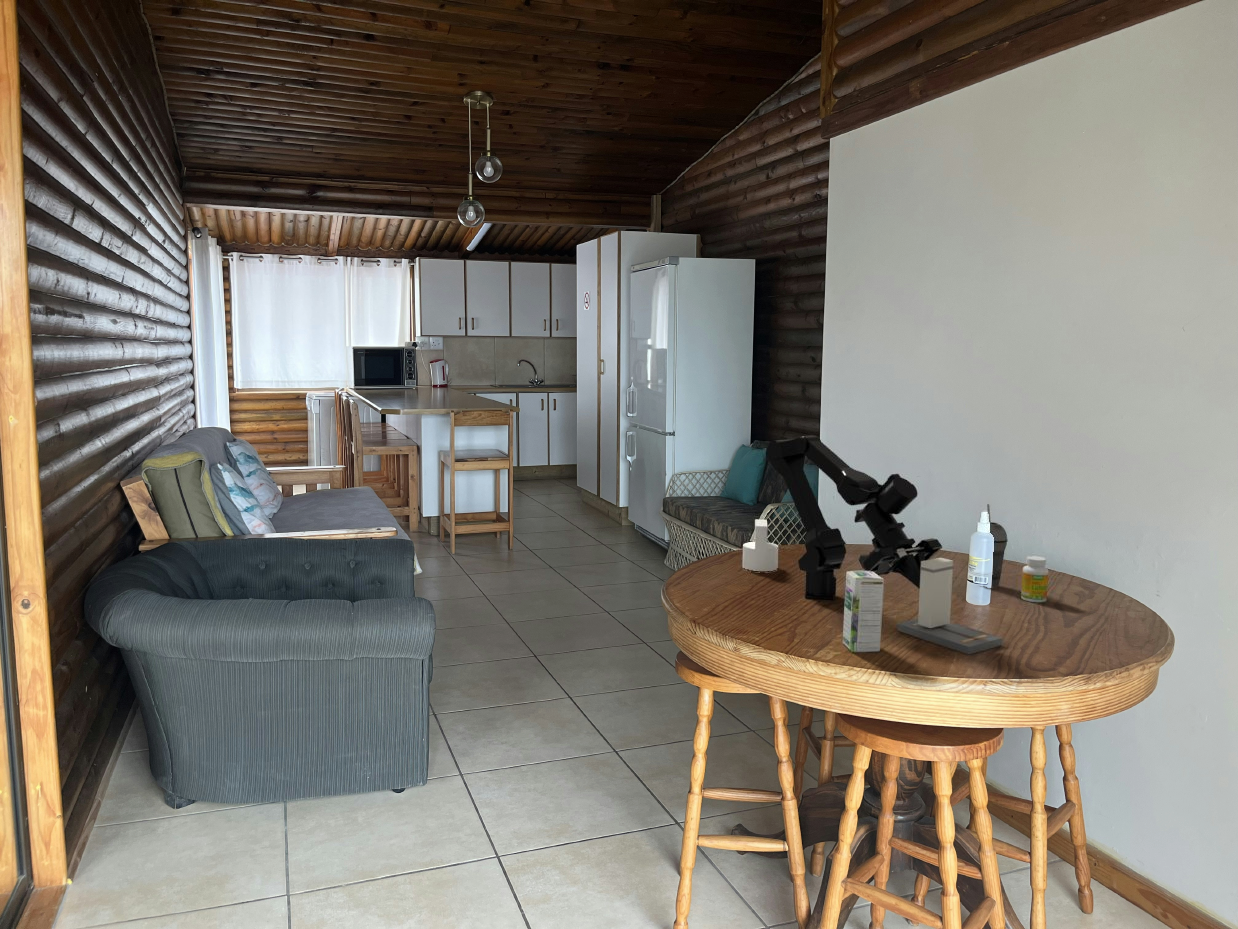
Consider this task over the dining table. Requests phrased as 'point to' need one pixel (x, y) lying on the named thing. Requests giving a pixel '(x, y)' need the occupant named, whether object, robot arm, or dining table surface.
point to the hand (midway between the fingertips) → (924, 589)
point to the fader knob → (935, 592)
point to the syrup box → (863, 611)
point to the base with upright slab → (760, 550)
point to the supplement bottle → (1034, 580)
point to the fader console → (952, 636)
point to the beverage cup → (997, 549)
